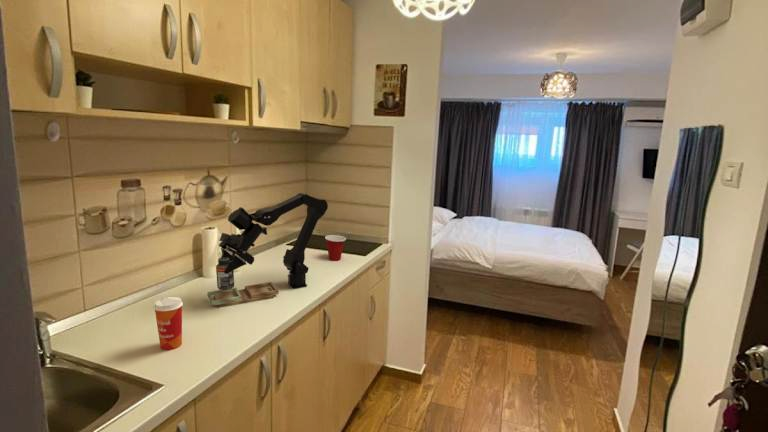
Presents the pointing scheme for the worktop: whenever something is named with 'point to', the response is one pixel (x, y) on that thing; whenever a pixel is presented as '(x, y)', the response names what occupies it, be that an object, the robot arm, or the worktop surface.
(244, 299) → the wooden tray
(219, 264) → the supplement bottle
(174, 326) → the paper cup
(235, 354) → the worktop surface
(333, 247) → the plastic cup
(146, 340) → the worktop surface
